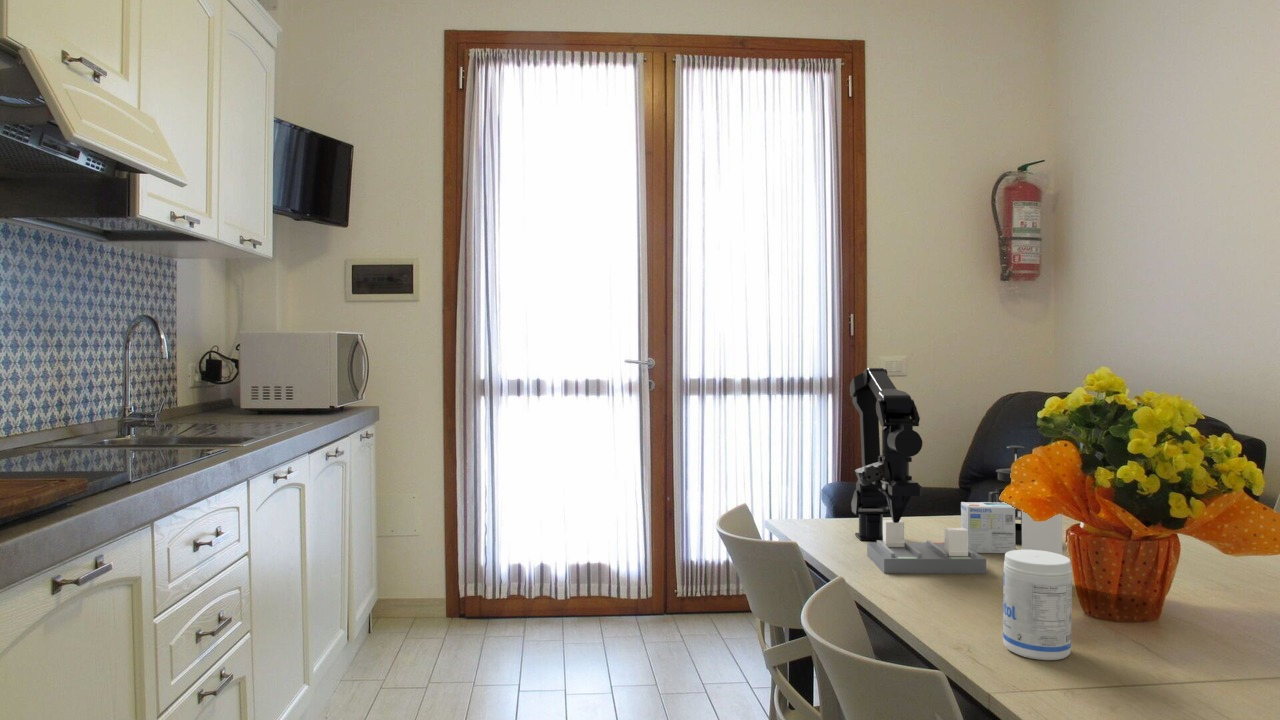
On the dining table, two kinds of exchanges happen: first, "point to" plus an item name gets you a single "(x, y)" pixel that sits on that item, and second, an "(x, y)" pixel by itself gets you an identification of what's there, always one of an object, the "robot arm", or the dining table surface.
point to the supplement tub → (1037, 604)
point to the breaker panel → (923, 559)
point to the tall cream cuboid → (956, 541)
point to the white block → (893, 533)
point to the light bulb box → (989, 526)
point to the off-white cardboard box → (1042, 534)
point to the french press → (1003, 476)
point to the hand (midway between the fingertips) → (895, 522)
